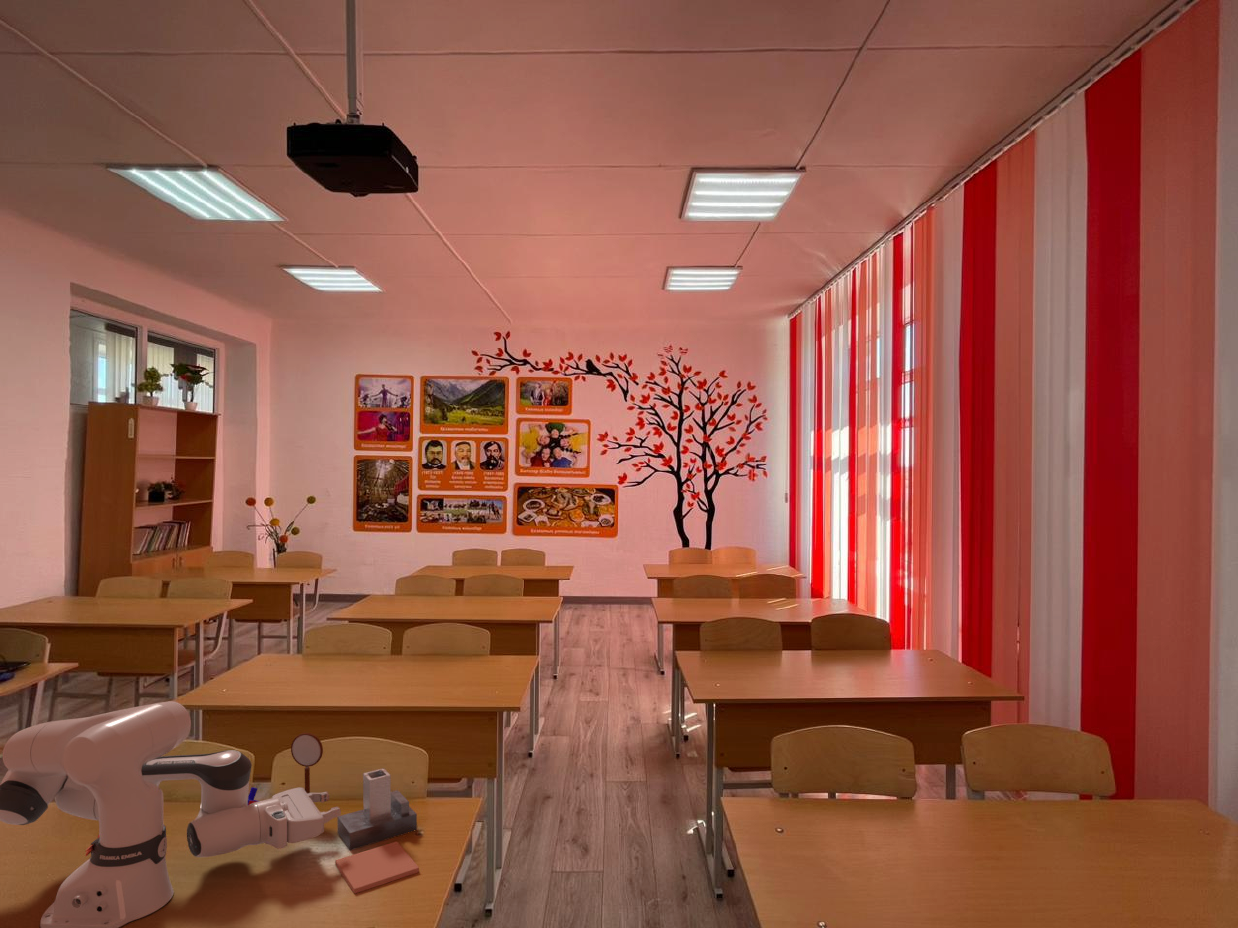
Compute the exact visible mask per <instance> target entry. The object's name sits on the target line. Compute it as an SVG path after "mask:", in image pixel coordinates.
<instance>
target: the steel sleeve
mask: <svg viewBox="0 0 1238 928" xmlns="http://www.w3.org/2000/svg"><path fill="white" fill-rule="evenodd" d="M374 777H376V778H374ZM362 780H363V781H362V783H363V785H362V788H363V793H362V794H363V795H362V796H363V797H362V798H363V810H364V815H365V817H366V818H367V819H368V820H369V821H370V822H372V821H376V820H379V819H383V818H387V817H390V816H391V792H392V791H391V790H392V789H391V788H392V787H391V783H392V782H391V781H392V780H391V774H390V773H389V772H388V771H387V770H386V769H385V768H383V767H382V768H380V769H379V768H378V769H375V770H371V771H368V772H363V773H362Z"/></svg>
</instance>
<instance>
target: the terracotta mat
mask: <svg viewBox="0 0 1238 928" xmlns="http://www.w3.org/2000/svg"><path fill="white" fill-rule="evenodd" d="M334 863H335V866H336V868H337V869H338V871H339V873H340V875H341V876H342V877H343V879H344V880H345V882H346V883H347V885H348V887H349V888H350V890H351V891H352V893H353V895H354V894H358V893H360V892H361V893H362V892H363V891H367V890H370V889H373V888H376V887H378V886H382V885H384V884H388V883H390V882H394V881H396V880H399V879H403V878H405V877H409V876H411V875H415V874H418V873H419V872H420V867H419V866H418V864H417V863H416V862H415V861H414V859H412V857H411V856H410V855H409V854H408V853H407V851H406V850H405V849H404V848H403V847H402V846H401V844H400V843H399V842H398V841H393V842H390V843H388V844H384V845H381V846H377V847H374V848H370V849H368V850H365V851H361V852H358V853H354V854H351V855H348V856H346V857H341V858H338V859H335V860H334Z"/></svg>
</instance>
